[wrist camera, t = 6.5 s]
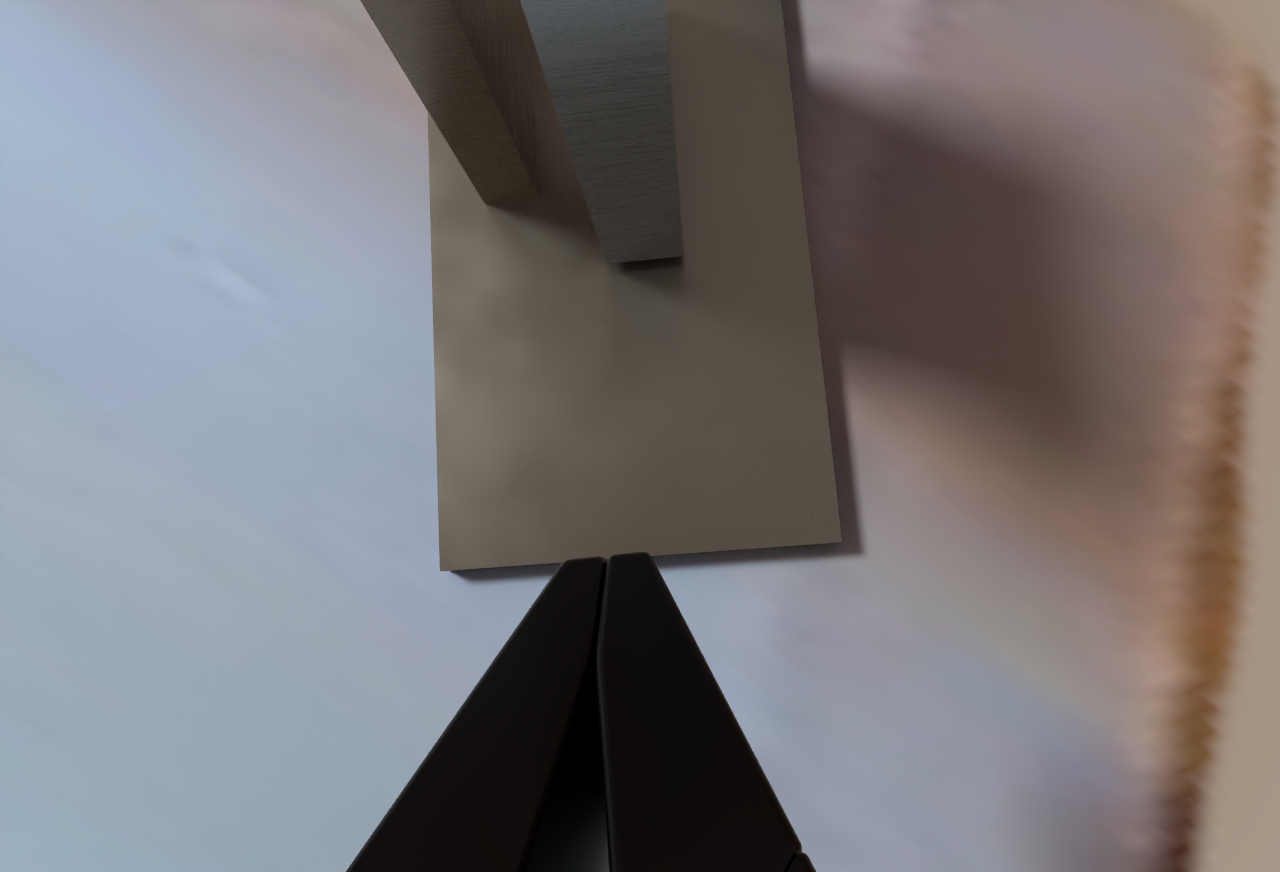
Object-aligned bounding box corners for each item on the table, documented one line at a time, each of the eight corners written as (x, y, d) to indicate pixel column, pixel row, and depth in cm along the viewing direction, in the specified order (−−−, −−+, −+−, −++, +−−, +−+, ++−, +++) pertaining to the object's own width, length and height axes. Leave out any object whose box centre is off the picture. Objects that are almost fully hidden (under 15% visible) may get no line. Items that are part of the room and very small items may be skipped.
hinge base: (837, 542, 16) (1232, 475, 4) (448, 570, 16) (-225, 585, 4) (772, -50, 18) (898, -1213, 6) (431, -7, 19) (-44, -1000, 7)
